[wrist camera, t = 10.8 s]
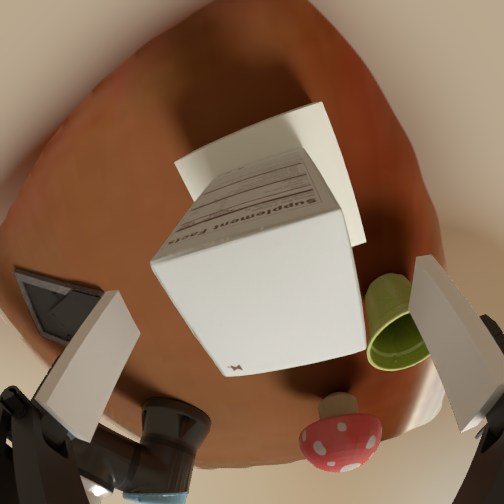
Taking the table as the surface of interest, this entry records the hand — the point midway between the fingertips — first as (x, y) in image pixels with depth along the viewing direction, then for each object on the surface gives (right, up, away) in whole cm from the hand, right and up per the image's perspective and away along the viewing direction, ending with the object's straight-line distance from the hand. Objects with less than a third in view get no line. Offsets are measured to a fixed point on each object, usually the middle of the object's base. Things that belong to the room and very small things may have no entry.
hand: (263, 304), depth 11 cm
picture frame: (-33, -9, +29) cm, 44 cm away
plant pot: (+16, -3, +20) cm, 26 cm away
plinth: (+2, +9, +15) cm, 18 cm away
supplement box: (+1, +6, +10) cm, 12 cm away
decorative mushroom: (+14, -22, +32) cm, 41 cm away
